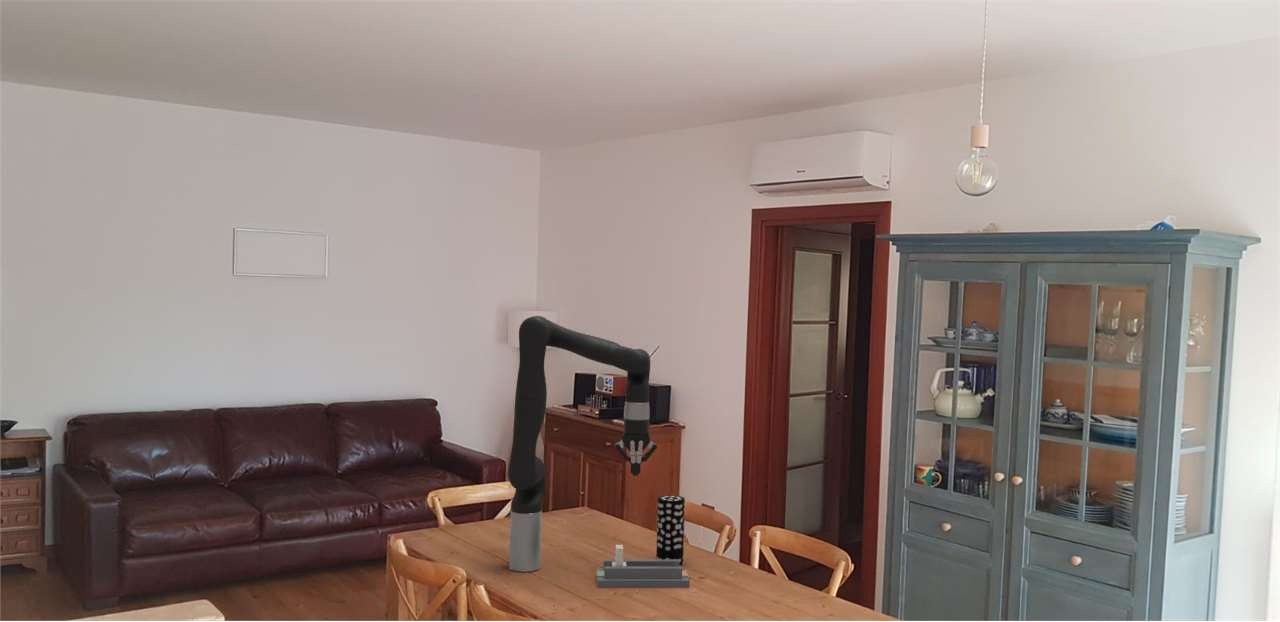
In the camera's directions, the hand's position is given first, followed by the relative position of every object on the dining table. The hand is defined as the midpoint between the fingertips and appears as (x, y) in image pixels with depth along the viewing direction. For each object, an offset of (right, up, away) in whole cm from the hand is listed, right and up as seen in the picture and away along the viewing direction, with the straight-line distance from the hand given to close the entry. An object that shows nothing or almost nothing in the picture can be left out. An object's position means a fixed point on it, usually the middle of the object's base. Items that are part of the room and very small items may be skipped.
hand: (635, 475), depth 280 cm
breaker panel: (+2, -29, -7) cm, 30 cm away
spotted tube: (+10, -29, +12) cm, 33 cm away
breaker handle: (-5, -27, -8) cm, 28 cm away
